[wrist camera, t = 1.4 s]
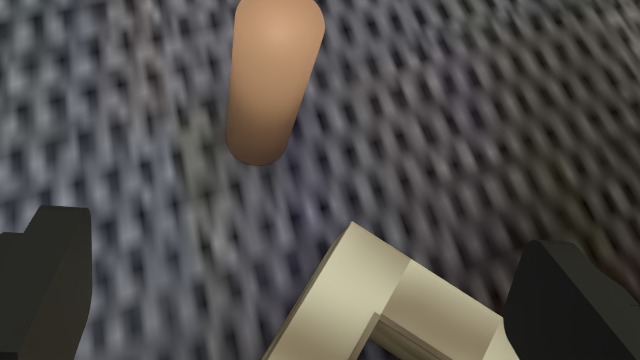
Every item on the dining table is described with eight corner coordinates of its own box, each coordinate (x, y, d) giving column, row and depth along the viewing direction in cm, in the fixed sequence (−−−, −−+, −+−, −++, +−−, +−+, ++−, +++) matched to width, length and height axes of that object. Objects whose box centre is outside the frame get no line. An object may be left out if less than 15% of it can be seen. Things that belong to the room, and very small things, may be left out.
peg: (248, 97, 36) (267, -31, 25) (299, 129, 36) (340, 15, 25) (213, 143, 35) (217, 29, 24) (266, 177, 35) (294, 78, 24)
